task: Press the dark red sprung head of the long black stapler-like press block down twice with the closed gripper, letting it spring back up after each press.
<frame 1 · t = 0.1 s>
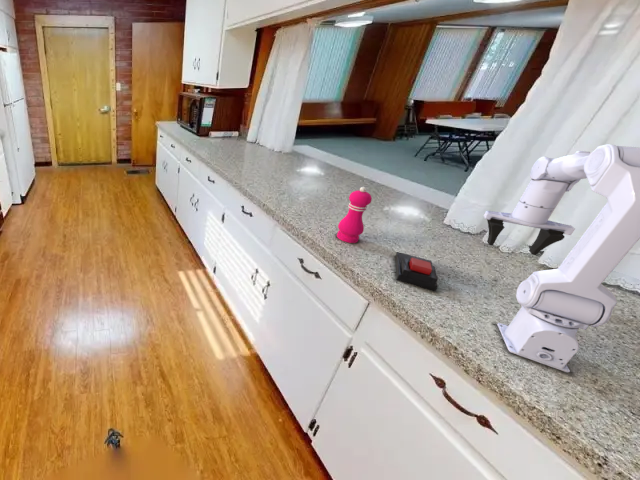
hand: (510, 248, 81), 10 cm above the countertop, tool pointing down, fingers open, 7 cm apart
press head: (420, 266, 83), point 5 cm above the countertop, slide at 0.1 cm
pepper mill: (347, 238, 105), on the countertop
press: (413, 272, 87), on the countertop
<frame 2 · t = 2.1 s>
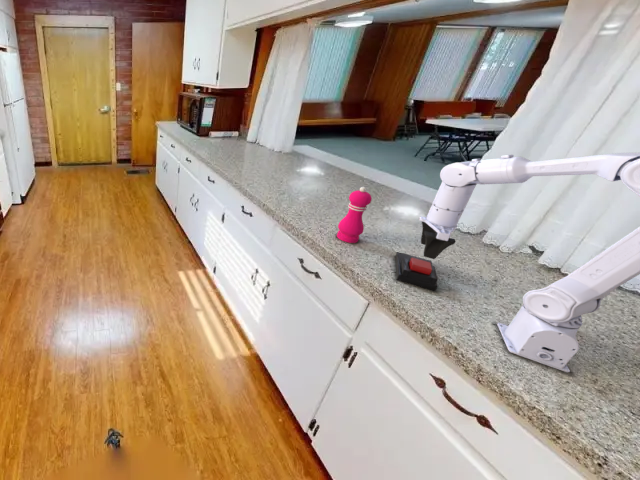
hand: (427, 250, 81), 10 cm above the countertop, tool pointing down, fingers open, 7 cm apart
nothing on the countertop moved.
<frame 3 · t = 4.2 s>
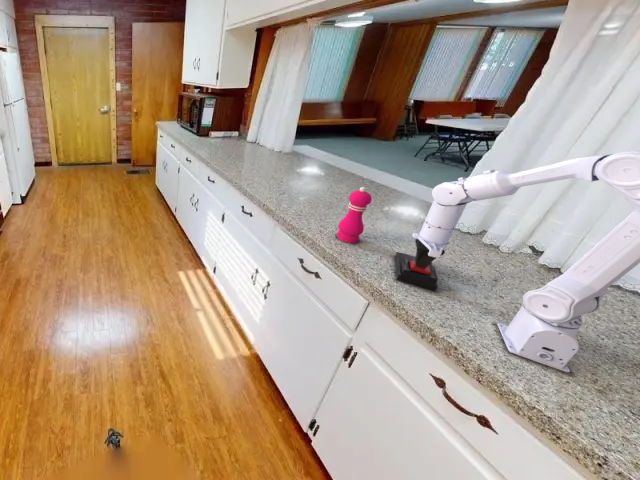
hand: (420, 265, 83), 5 cm above the countertop, tool pointing down, fingers closed, pressing on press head
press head: (418, 268, 83), point 4 cm above the countertop, slide at -0.8 cm, touching gripper
everything else where it was.
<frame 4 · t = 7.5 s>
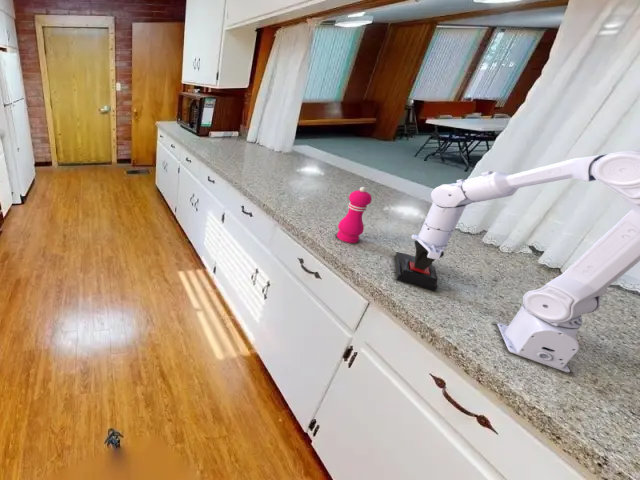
hand: (419, 267, 83), 4 cm above the countertop, tool pointing down, fingers closed, pressing on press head
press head: (418, 270, 83), point 3 cm above the countertop, slide at -1.4 cm, touching gripper
everything else where it was.
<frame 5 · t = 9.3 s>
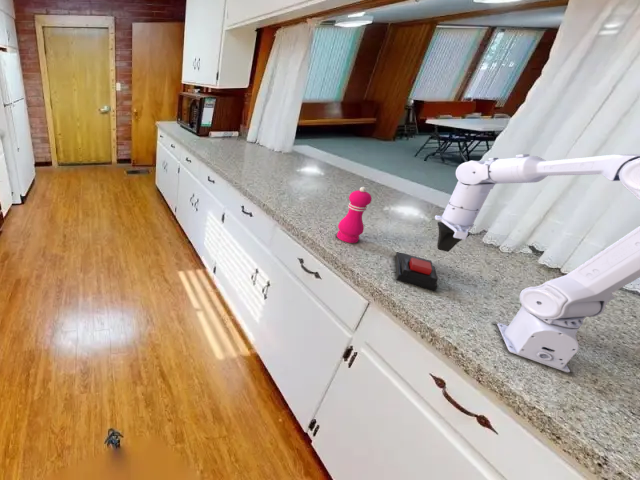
hand: (442, 249, 81), 10 cm above the countertop, tool pointing down, fingers closed
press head: (420, 266, 83), point 5 cm above the countertop, slide at 0.1 cm
everything else where it was.
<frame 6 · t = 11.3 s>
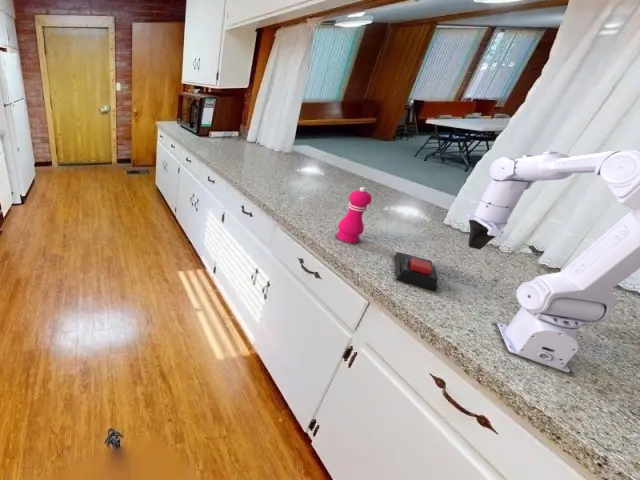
hand: (474, 247, 81), 10 cm above the countertop, tool pointing down, fingers closed
nothing on the countertop moved.
at the end: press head pushed in 1.4 cm at the most during the clip, back to where it started at the end; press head slide at 0.1 cm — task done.
